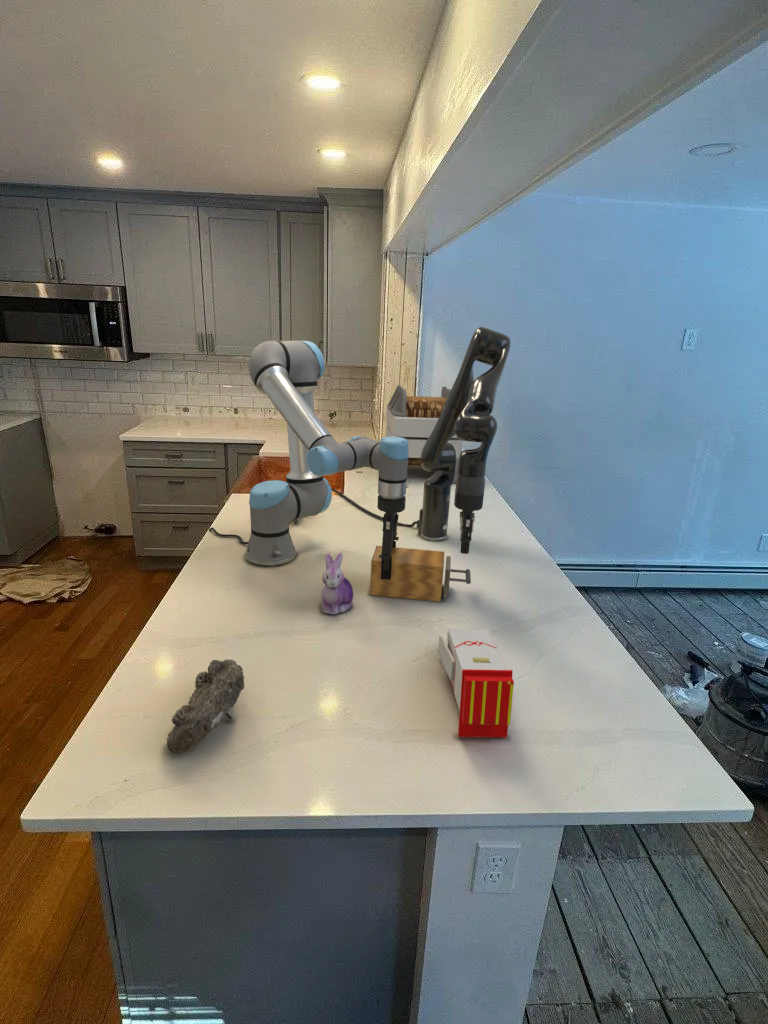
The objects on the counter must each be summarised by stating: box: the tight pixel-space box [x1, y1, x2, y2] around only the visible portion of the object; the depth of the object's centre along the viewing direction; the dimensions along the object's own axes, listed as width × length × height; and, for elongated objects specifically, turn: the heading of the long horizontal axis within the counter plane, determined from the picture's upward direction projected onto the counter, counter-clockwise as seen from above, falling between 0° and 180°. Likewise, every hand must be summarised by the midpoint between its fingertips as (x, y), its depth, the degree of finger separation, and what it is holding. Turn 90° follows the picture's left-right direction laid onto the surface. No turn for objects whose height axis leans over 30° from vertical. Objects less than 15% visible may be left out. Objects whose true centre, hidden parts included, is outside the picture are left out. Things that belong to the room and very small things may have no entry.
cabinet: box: [369, 545, 445, 603], centre depth 159 cm, size 20×10×10 cm, turn 83°
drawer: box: [443, 555, 472, 599], centre depth 158 cm, size 24×9×8 cm, turn 83°
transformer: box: [385, 384, 464, 484], centre depth 268 cm, size 34×33×41 cm
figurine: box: [321, 552, 354, 615], centre depth 147 cm, size 9×10×15 cm
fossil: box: [166, 658, 245, 754], centre depth 106 cm, size 22×10×15 cm
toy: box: [437, 628, 515, 738], centre depth 117 cm, size 12×13×30 cm
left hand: (388, 570), depth 159 cm, fingers closed on cabinet, 10 cm apart
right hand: (464, 547), depth 154 cm, fingers open, 8 cm apart
